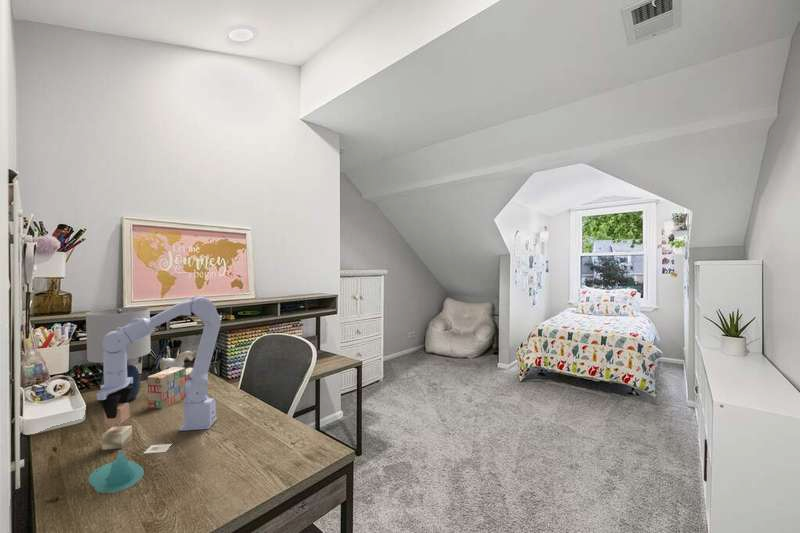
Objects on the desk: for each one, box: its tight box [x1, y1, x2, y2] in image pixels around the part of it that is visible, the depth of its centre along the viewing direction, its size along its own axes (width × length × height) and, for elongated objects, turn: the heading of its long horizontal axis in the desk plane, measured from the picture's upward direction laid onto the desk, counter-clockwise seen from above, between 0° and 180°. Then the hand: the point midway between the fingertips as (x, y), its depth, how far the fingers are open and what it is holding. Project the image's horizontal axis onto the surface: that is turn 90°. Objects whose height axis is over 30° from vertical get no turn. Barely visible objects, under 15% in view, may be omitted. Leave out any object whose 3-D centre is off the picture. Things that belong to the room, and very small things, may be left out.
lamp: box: [85, 306, 152, 402], centre depth 149 cm, size 20×20×37 cm
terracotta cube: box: [103, 402, 131, 425], centre depth 114 cm, size 4×4×4 cm
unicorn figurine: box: [159, 349, 198, 372], centre depth 175 cm, size 7×20×13 cm, turn 91°
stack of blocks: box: [147, 367, 193, 410], centre depth 152 cm, size 21×6×12 cm, turn 168°
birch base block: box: [101, 425, 133, 450], centre depth 114 cm, size 6×6×4 cm
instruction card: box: [142, 443, 173, 455], centre depth 111 cm, size 6×4×1 cm
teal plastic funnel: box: [87, 449, 145, 494], centre depth 98 cm, size 12×20×9 cm, turn 51°
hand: (116, 414), depth 114 cm, fingers closed on terracotta cube, 4 cm apart
